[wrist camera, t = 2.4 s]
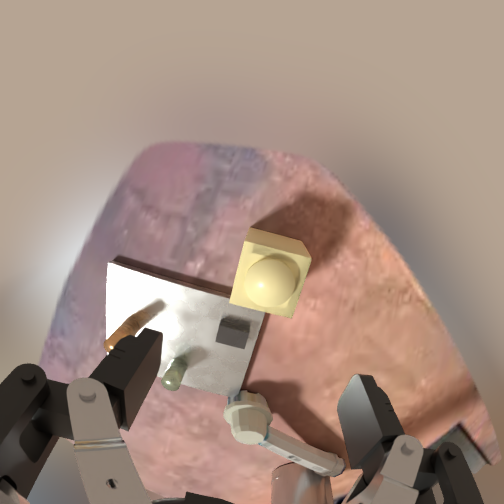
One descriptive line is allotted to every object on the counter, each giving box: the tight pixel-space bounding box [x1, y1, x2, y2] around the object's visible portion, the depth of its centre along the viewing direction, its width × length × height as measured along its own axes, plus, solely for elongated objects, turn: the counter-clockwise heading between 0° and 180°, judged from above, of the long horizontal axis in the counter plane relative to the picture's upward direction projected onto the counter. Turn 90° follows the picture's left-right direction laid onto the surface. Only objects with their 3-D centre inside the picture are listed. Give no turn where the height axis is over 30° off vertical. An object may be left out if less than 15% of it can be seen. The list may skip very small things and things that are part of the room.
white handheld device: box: [224, 390, 346, 477], centre depth 30 cm, size 5×7×25 cm
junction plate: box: [104, 260, 265, 398], centre depth 26 cm, size 17×13×6 cm
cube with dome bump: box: [229, 227, 312, 318], centre depth 23 cm, size 5×5×7 cm
